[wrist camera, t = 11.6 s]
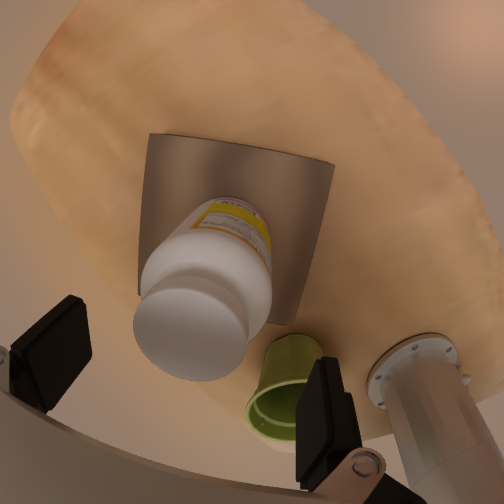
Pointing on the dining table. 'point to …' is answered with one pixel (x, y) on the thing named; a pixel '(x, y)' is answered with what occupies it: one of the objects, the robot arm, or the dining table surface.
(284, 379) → the plant pot
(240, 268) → the supplement bottle
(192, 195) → the brown wooden square slab
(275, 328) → the dining table surface
